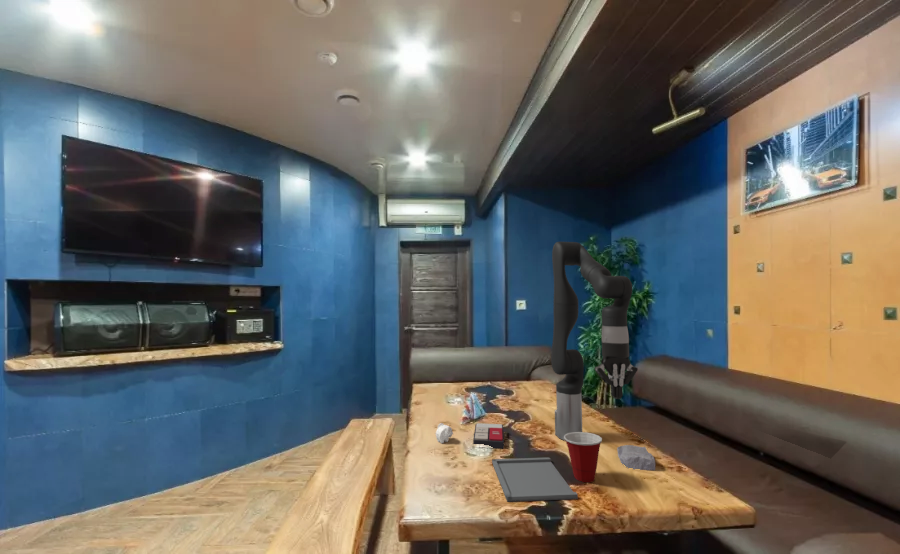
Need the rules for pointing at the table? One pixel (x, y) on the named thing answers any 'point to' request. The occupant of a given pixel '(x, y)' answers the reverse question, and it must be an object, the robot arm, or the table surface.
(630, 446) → the stone block
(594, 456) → the plastic cup
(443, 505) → the table surface
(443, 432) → the elephant figurine
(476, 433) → the grey and red box
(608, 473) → the table surface
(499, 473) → the grey tray
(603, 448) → the table surface
